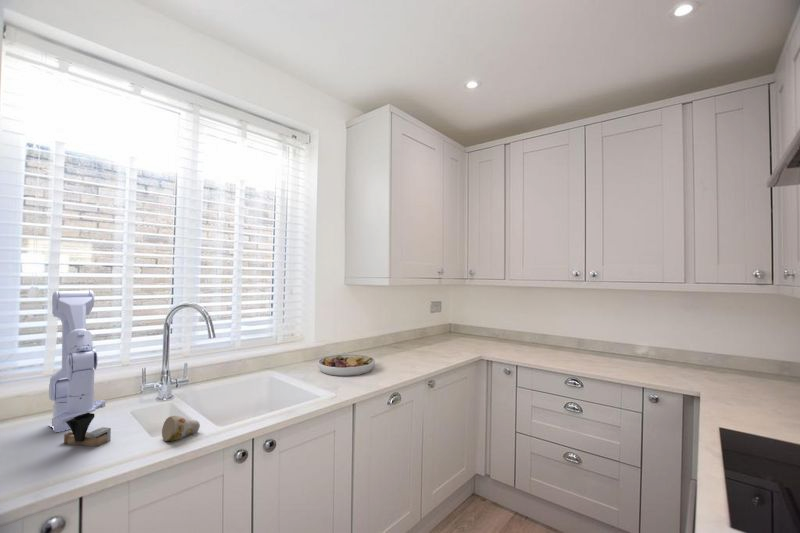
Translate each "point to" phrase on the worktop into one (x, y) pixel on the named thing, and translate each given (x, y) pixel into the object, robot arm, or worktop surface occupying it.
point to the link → (85, 439)
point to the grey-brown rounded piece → (178, 428)
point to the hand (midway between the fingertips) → (79, 441)
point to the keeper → (100, 431)
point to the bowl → (346, 364)
